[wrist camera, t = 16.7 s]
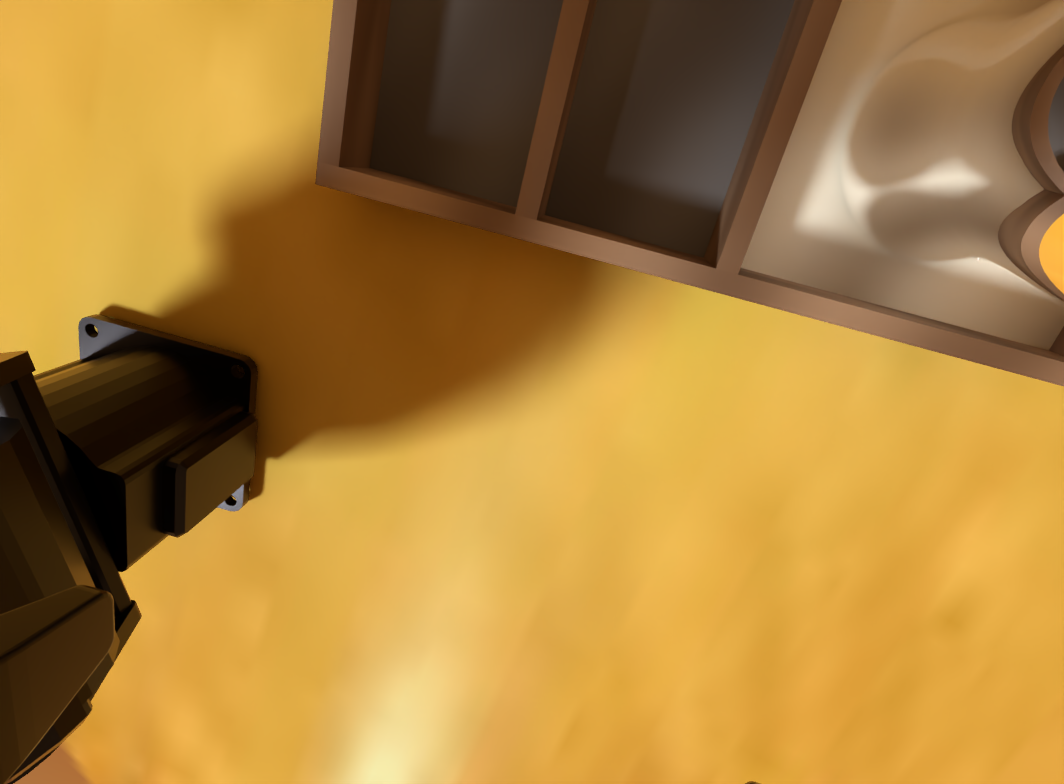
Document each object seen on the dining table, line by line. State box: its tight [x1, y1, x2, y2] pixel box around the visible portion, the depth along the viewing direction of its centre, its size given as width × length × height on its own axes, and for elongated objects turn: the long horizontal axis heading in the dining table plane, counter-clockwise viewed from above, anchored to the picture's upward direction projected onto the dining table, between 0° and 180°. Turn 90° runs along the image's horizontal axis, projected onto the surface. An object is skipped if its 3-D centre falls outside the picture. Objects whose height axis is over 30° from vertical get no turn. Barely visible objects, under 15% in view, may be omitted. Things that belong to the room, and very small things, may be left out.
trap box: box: [315, 0, 1064, 386], centre depth 15 cm, size 22×11×2 cm, turn 76°
